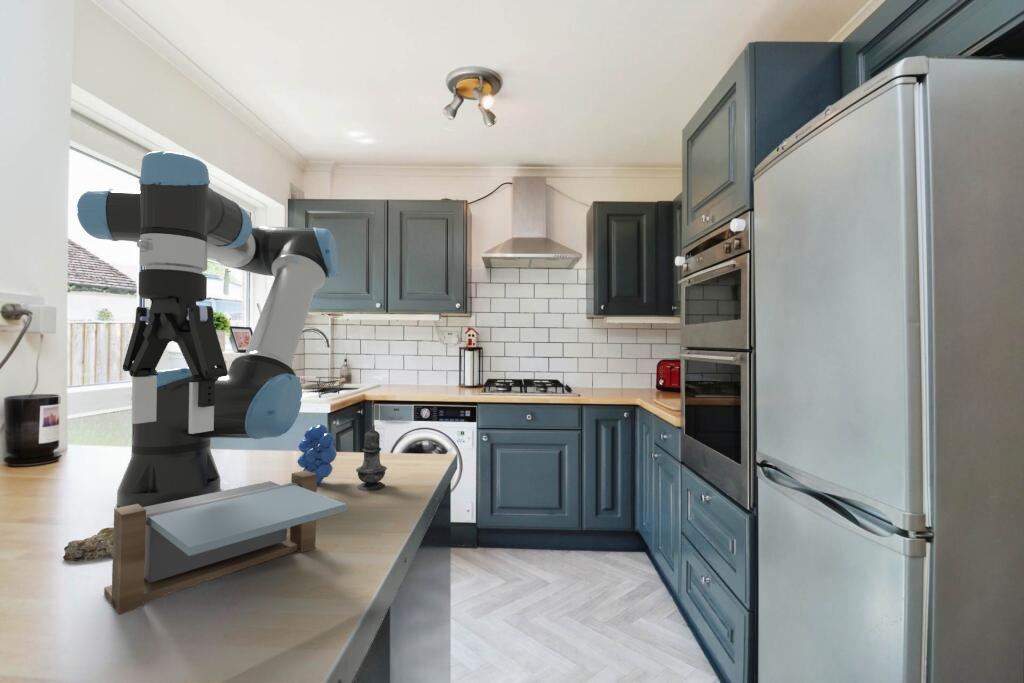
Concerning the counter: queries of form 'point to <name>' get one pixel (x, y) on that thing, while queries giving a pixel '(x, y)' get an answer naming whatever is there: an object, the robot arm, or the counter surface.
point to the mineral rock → (91, 547)
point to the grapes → (317, 452)
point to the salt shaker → (371, 463)
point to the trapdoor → (226, 525)
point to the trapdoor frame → (136, 589)
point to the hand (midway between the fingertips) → (171, 427)
